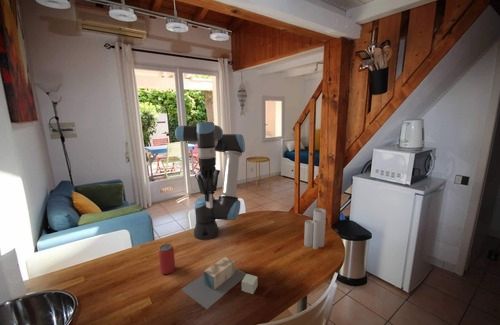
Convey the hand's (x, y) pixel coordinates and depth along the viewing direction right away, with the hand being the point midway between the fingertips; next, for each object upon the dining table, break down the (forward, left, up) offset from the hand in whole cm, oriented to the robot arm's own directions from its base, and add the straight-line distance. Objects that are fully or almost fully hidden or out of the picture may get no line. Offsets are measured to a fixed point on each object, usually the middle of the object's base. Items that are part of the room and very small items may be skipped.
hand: (209, 207), depth 105 cm
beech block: (+11, -12, -26) cm, 31 cm away
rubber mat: (+11, -8, -29) cm, 32 cm away
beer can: (-13, -16, -30) cm, 36 cm away
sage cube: (+25, -2, -30) cm, 39 cm away
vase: (+33, +46, -30) cm, 64 cm away
